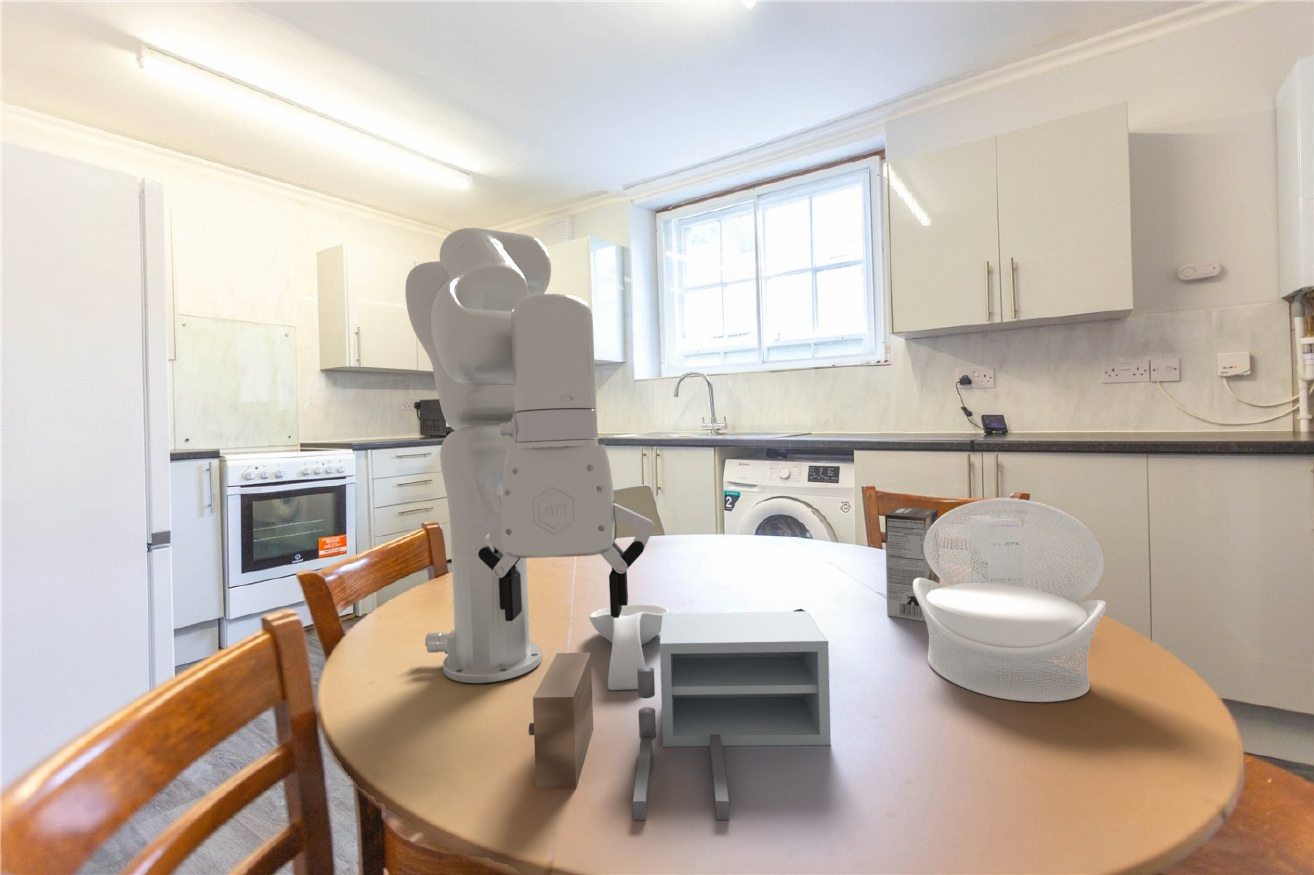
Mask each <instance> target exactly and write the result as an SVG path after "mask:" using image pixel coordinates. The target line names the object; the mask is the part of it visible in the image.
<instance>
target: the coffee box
mask: <svg viewBox="0 0 1314 875" xmlns="http://www.w3.org/2000/svg"><path fill="white" fill-rule="evenodd" d="M938 518H939V509H935V508H932V509H931V508H923V507H912V506H911V507H910V506H897V507H896V508H894V509H892V510H890V511H888V512H887V513H886V514H884V524H885V525H884V526H885V528H884V530H885V565H886V566H885V569H886V574H885V575H886V578H885V579H886V612H887V613H886V616H888V617H893V618H899V619H900V618H901V619H905V620H906V619H907V620H912V621H918V622H924V623H926V620H925V617H924V614H923V611H922V609H921V606H920V605H919V603H918V601H917V599H916V596H915V594H914V590H913V582H914V580H915V579H916V578H925V579H928V580H931V581H934V582H936V583H939V584H941V579H940V578H939V577H938V576H937V575H936V574H935V572H934V571H933V570H932V569H931V567H930V566H929V564H928V562H927V560H926V557H925V554H924V540H925V537H926V534H927V532H928V530H929V529H930V527H931V526H932V525H933V523H934V522H935V521H936V520H937V519H938ZM936 531H937V530H936ZM933 534H934V533H933ZM935 534H936V533H935ZM937 534H938V533H937ZM937 537H938V536H937ZM933 538H934V537H933ZM935 538H936V537H935ZM934 540H935V539H934ZM936 541H937V539H936ZM934 543H935V542H934ZM936 543H937V542H936ZM939 544H940V542H939V543H938V545H939ZM936 545H937V544H936ZM934 547H935V545H934ZM936 547H937V546H936ZM936 549H937V548H936ZM938 550H939V548H938ZM934 551H935V550H934ZM937 552H938V551H937ZM930 553H931V552H930ZM930 553H929V554H930ZM932 554H933V553H932ZM937 554H938V553H937ZM939 554H940V553H939ZM939 554H938V556H939ZM935 555H936V554H935ZM935 555H934V556H935ZM935 558H936V557H935ZM932 559H933V558H932ZM936 563H937V562H936ZM938 564H939V562H938ZM938 566H939V565H938ZM926 590H927V589H926ZM934 590H935V589H934ZM929 591H930V590H929ZM923 594H924V593H923ZM926 595H927V594H926ZM924 597H925V596H924Z"/></svg>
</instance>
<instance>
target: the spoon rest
mask: <svg viewBox="0 0 1314 875" xmlns="http://www.w3.org/2000/svg"><path fill="white" fill-rule="evenodd" d="M663 614H671V612H670V609H668V608H666V607H664V606H659V605H655V604H627V606H622V610H621V613H620V616H619V618H613V616H611V611H610V607H604V608H600V609H597V610H595V611H593V612H592V613H590V615H589V620H590V622H591V625H592V627H593V628H594V629H595V630H596V631H597V632H598V634H599V635H601V636H602V637H603V638H605V639H606V640H608V641H609V643H611V644H612V645H611V654H610V659H609V669H608V678H607V689H608V690H610V691H625V690H626V691H630V690H638V676H637V669H638V668H640V667H643V666H646V662H645V658H644V654H643V647H642V646H643V645H645V644H648V643H649V642H650V641H651V640H652V639H653V638H655V637H656V636H658V635H659V634H661V626H662V615H663Z"/></svg>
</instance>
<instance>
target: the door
mask: <svg viewBox="0 0 1314 875" xmlns="http://www.w3.org/2000/svg"><path fill="white" fill-rule="evenodd" d="M592 672H593V671H592V652H558V653H556V654H555V656H554V657H553V660H552V662H551V663H550V665H549V667H548V669H547V670H546V672H545V674H544V676H543V678H542V679H541V681H540V684H539V686H538V687H537V689H536V691H535V692H534V695H533V696H532V708H533V709H532V711H533V712H532V713H533V722H529V726H528V735H529V736H533V737H534V738H533V740H534V743H533V744H534V763H535V766H534V767H535V769H534V770H535V789H537V790H543V789H544V790H546V789H547V790H549V789H550V790H555V789H556V790H563V789H566V790H567V789H570V790H571V789H573V790H575V789H576V790H577V788H578V785H579V781H580V777H581V774H582V770H583V768H584V764H585V760H586V757H587V752H588V750H589V746H590V742H591V740H592V735H593V732H594V710H593V709H594V707H593V703H594V702H593V679H592V678H593V677H592V676H593V674H592Z"/></svg>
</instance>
